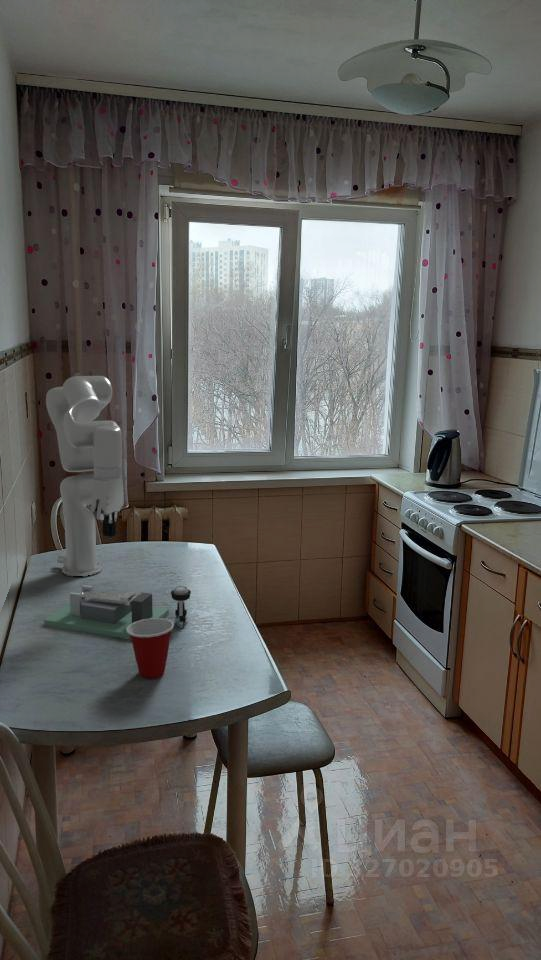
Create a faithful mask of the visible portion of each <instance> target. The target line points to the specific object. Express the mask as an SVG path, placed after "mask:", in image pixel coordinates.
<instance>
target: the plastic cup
mask: <svg viewBox="0 0 541 960" xmlns="http://www.w3.org/2000/svg"><path fill="white" fill-rule="evenodd" d="M174 627H175V624H174V622H173V621H172V620H170V619H168V618H164V619H162V618H150V619H143V620H140V621H136V622H134V623H132V624H130V625H129V626H128V627H127V628H126V630H127V633H128V634H129V636H130V638H131V640H130V641H131V644H132V649H133V653H134V656H135V657H134V658H135V662H136V666H137V669H138V670H137V671H138V674H139V676H140V677H141V678H142V679H146V680H156V679H158V678H160V677H162V676H163V675H164V674H165V671H166V666H167V660H168V655H169V650H170V649H169V647H170V642H171V638H172V637H171V636H172V631H173V629H174Z"/></svg>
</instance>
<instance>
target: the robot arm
mask: <svg viewBox="0 0 541 960" xmlns="http://www.w3.org/2000/svg"><path fill="white" fill-rule="evenodd" d="M45 397H46V398H45V404H46V405H45V406H46V408H47V413H48V416H49V418H50V420H51V422H52V425H53V426H54V429H55V432H56V437H57V444H58V451H59V458H60V459H59V460H60V463H61V466H62V469H63V470H64V471H66V472H69V473H80V472H81V473H82V472H92V471H93V474H79V475H71V476H67V477H65V478H64V479H62V481H61V482H60V486H59V490H60V492H59V493H60V498H61V503H62V509H63V514H64V515H63V516H64V537H65V538H64V539H65V540H64V541H65V554H59V555H58V556H57V560H56V563H59V564H63V566H62V567H61V572H63V573H64V574H63V573H62V574H63V575H65V574H66V575H65V576H67V577H68V576H69V577H73V576H83V577H89V576H88V575H90V576H93V574H94V575H96V573H97V574H98V572H99V573H100V572H101V571H102V570H103V565H102V564H101V563H99V562H98V560H97V559H98V556H97V536H96V535H97V533H96V532H97V530H96V520H99V521H100V522H101V523H102V535H103V536H104V537H105V536H106V537H111V538H112V537H114V536H116V535H117V529H116V527H117V526H116V525H117V524H116V523H117V519H118V513H119V512H120V511H121V509H122V507H124V504H125V501H124V499H125V496H124V495H125V491H124V482H123V481H124V480H123V435H122V434H123V433H122V430H121V428H120V425H118V424H117V422H115V421H114V420H95V419H97V418H98V417H99V416H100V414H101V411H102V410H103V409H104V408H105V407H107V406H108V404H110V402H111V401H112V398H113V386H112V384H111V381H110V380H109V379H108V378H107V377H106V376H104V375H76V376H71V377H69V378H67V379H66V380H65V381H64V382H63V384H62V386H57V387H53V388H51V389H49V390H48V391H47V392H46V395H45ZM89 505H90V509H89V508H88V507H87V506H89ZM94 514H96V517H95V515H94ZM101 569H102V570H101Z"/></svg>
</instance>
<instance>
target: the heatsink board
mask: <svg viewBox="0 0 541 960" xmlns="http://www.w3.org/2000/svg"><path fill="white" fill-rule="evenodd" d="M85 590H87V591H92V592H94V586H93V585H88V584H87V585H86V584H83V585H81V592H73V591H71V592H70V593H69V603H68V604H66V605H65V606H63V607H62V608H60V609H59V610H57V611H55V612H54V613H52V614H51V615H50V616H47V617H46V618H44V620H43V622H44V624H43V625H44V626H49V627H54V628H61V629H66V630H72V631H77V632H84V633H89V634H90V633H91V634H96V635H101V636H107V637H114V638H120V639H125V640H130V641H131V638H130V636H129V634H128V633H127V630H126V628H127V627H128V626H129V625H130V624H132V623H134V622H136V621H140V620H143V619H150V618H162V619H166V617H168V616H169V615H170V609H169V608H165V607H164V608H163V607H158V606H157V607H156V606H153V594H152V593H149V592H141V593H140V594H137V595H136V596H137V597H135V598H134V599H133V600H131V605H122V604H113V603H105V602H96V601H88V600H82V597H81V593H82V592H83V591H85ZM100 592H101V593H107V591H106V592H104V591H100ZM109 593H110V594H114V593H112V592H109Z"/></svg>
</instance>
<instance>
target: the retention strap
mask: <svg viewBox="0 0 541 960" xmlns="http://www.w3.org/2000/svg"><path fill="white" fill-rule="evenodd" d="M101 592H102V591H93V592H92V591H87V590H85V591H83V592H82V591H81V592H80V593H81V597H82V600H88V601H96V602H105V603H113V604H122V605H131V600H133V599H134V598H135V597H137V596H138V595H137V591H127V592H126V593H124V594H118V593H113V594H110V593H111V592H106V593H101Z"/></svg>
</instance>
